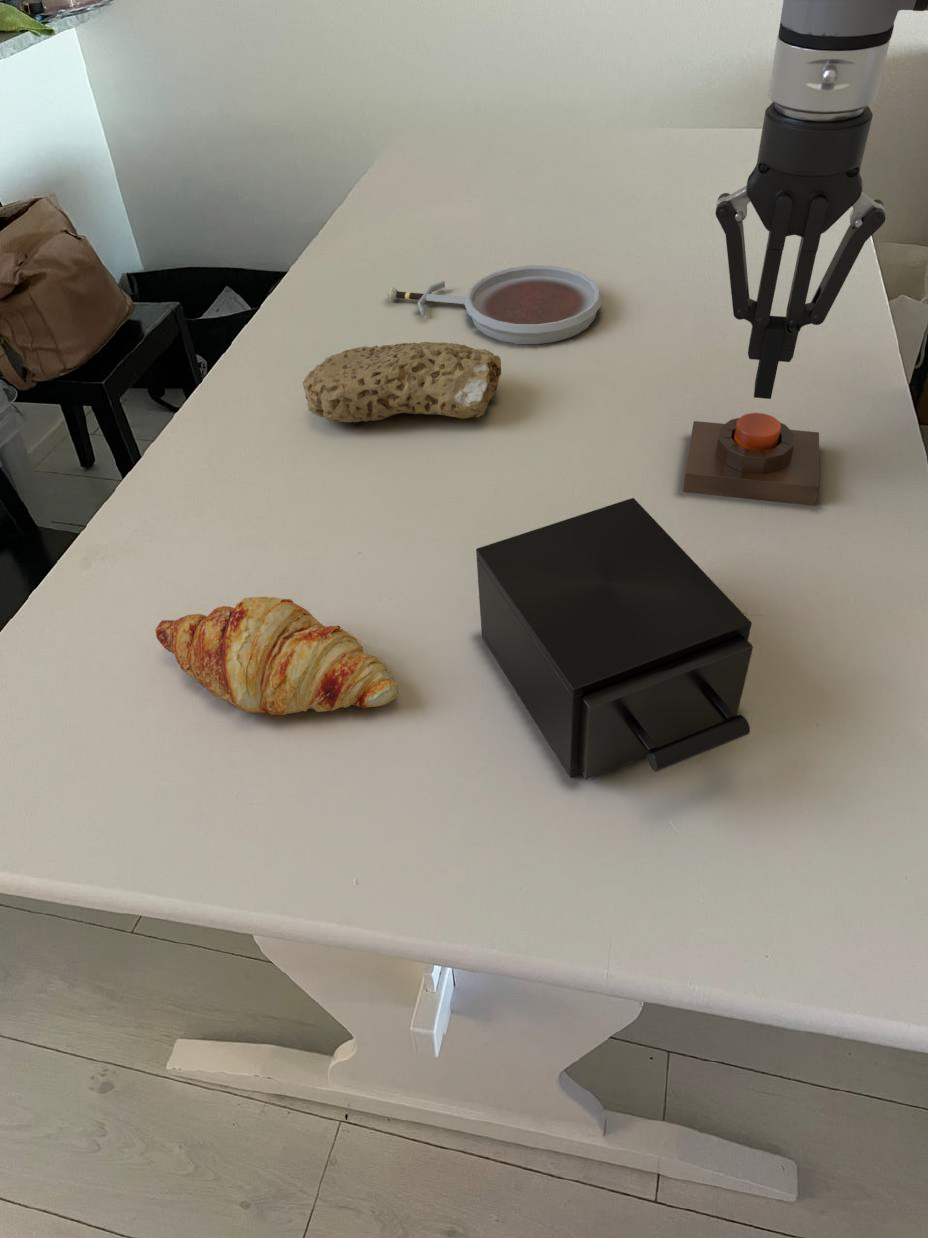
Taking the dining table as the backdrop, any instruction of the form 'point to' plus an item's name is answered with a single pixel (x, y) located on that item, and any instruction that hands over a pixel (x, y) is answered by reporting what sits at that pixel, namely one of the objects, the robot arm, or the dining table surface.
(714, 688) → the open drawer with handle
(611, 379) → the dining table surface
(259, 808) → the dining table surface
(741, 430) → the button
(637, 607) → the black drawer unit
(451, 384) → the sponge
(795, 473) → the control block
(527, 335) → the frying pan
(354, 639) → the croissant
